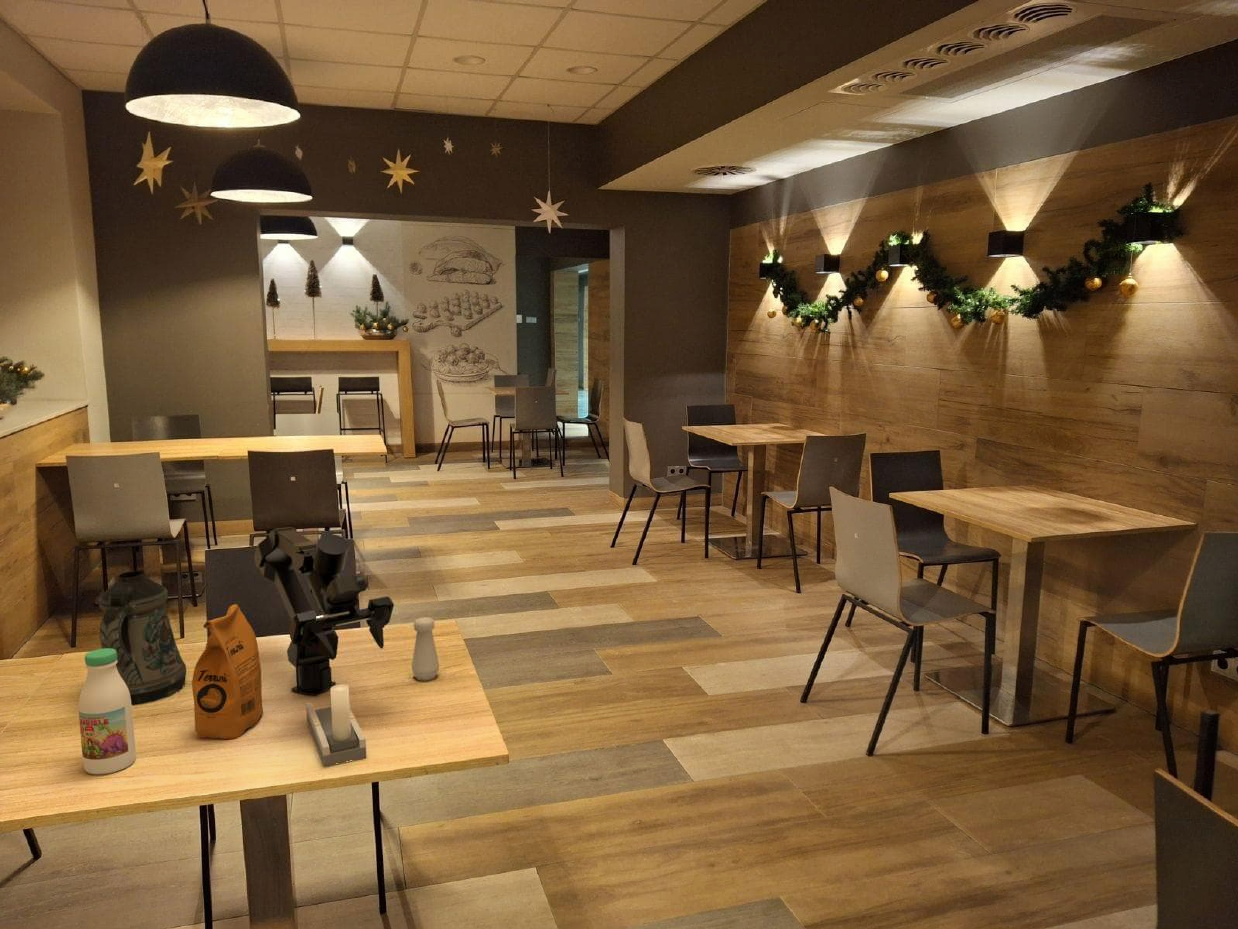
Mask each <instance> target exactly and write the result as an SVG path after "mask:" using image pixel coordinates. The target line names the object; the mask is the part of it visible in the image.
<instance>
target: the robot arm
mask: <svg viewBox="0 0 1238 929" xmlns="http://www.w3.org/2000/svg"><path fill="white" fill-rule="evenodd" d="M349 546H350V544H349V541H348V539H345V538H344V537H343V536H340V535H337V534H334V533H333V532H332V531H323V532H321V533H320V537H319V539H318V540H317V541H315V540H310V539H309V538H307V537H306V536H304V535H303V534H301V532H298V530H297V529H296V527H292V526H289V527H288V526H287V527H280V528H274V529H273V530H270V532H269V534H268V536H266V538H264V539H263V540H262V541H260V542H259V543H258V544H257V546H256V549H255V552H254V564H255V567H256V568H258V569H259V571H260V573H261V575H262V576H263V578H266V579H268V580H270V581H271V582H274V584H275V586H276V589H277V591H278V593H279V596H280V598H281V600H282V602H283V605H284V607H285V609H286V611H287V614H288V616H289V618H290V620H291V621H290V627H289V631H288V633H289V638H290V643H289V645H288V647H287V650H286V654H287V660H288V662H289V663H290V664H291V665H292V666H294V668H295V677H296V678H295V679H296V685H295V686H293V687H291V692H295V693H299V694H304V695H310V696H318V695H319V694H322V693H323V692H325V691H327V690H329V689H331V687H333V686H335V685H337V682H336V681H333V680H332V667H331V664H330V660H332V661H334V660H335V659H336V658H337V655H338V649H339V648H338V645H339V635H338V633H337V632H336V630H335V629H333V627H339V626H344V625H348V624H353V623H358V622H364V621H365V622H366V624H367V626H369V629H368V631H369V632H370V635H371V636H372V637H373V639H374V641H375V643H376V645H377V646H378V647H379V649H384V644H385V641H384V628H385V626H387V625H388V624H389V623H390V621H391V617H392V614H393V611H394V610H393V609H394V607H395V604H394V601H393V600H392V598H391V597H390V596H389V595H387V596H382V597H377V598H376V597H375V598H371V599H368V604H367V608H365V607H364V608H360V609H356V607H355V606H358V604H359V599H358V597H357V596H358V595H359V594H361V593H362V592H365V591H366V590H367V588H369V582H368V579H367V577H366V576H365V574H364V572H358V573H355V574H353V575H348V576H344V577H340V573H342V572H343V571H344V569H345V564H346V560H347V557H348V552H349ZM298 574H299V575H300V576H302V575H308V577H307V583H308V592H309V593H310V594H312V595H313V596H314V598H315V600H316V603H317V608H316V610H317V611H318V613H319V614H317V612H316V610H314V608H313V605H312V604H311V601H310V599H309V598H308V596H307V593H306V591H305V589H304V586H303V584H302V582H301V580H300V578H299V576H298Z"/></svg>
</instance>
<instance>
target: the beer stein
mask: <svg viewBox="0 0 1238 929" xmlns="http://www.w3.org/2000/svg"><path fill="white" fill-rule="evenodd" d="M168 594H169V592H168V589H167V588H166V587H165V586H164V585H162V584H160V583H158V582H157V581H154V580H153V579H151V578H149V577H148V576H146V574H145V573H144V572H143V571H140V570H139V571H137V570H135V571H134V570H133V571H127V572H122V573H120V574H119V575H118V578H117V580H116V581H115V582H114V583H113V584H112V585H110V587H109V588H107V589H106V590H105V591H104V592H103V593H102V594H101V596H100V597H99V599H98V605H99V607H100V610H101V611H102V612H103V617H102V618H101V620H100V623H99V640H100V644H101V647H100V649H105V648H111V649H115V650H116V652H117V661H118V662H117V663H116V667H117V670H118V672H119V674H120V676H121V678H122V679H123V681H124V682H125V684H126V685H127V687H128V690H129V692H130V697H131V704H132V706H136V705H142V704H147V703H153V702H156V701H159V700H160V701H161V700H163V699H165V698H168V697H171V696H173V695H175V694H177V693H178V692H180V691H181V690H182V689H183V688H184V686H185V684H186V676H187V665H186V663H185V661H184V660H183V658H182V656H181V654H180V651H179V649H178V645H177V643H176V639H175V635H174V632H173V629H172V625H171V621H170V618H169V614H168V611H167V607H166V603H167V600H168Z"/></svg>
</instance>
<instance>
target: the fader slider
mask: <svg viewBox="0 0 1238 929" xmlns="http://www.w3.org/2000/svg"><path fill="white" fill-rule="evenodd" d="M329 689H330V705H331V706H330V707H331V711H332V731H333V734H331V735H327V742H328V744H329V749H330V751H331V752H336V751H341V750H345V749H350V748H355V747H358V745H357V738H356V736H355V734H354V731H353V730H351V724H350V709H351V707H350V687H349V684H336V685H334V686H333V687H331V688H329Z"/></svg>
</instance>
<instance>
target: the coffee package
mask: <svg viewBox="0 0 1238 929" xmlns="http://www.w3.org/2000/svg"><path fill="white" fill-rule="evenodd" d="M203 628H204V629H209V632H210V635H209V636H208V637H207V640H206V641H207V642H206V644H205V649H204V651H202V653H201V654H200V656H199V658H198V660H197V662H196V664H195V666H194V669H193V673H192V680H191V688H192V697H193V707H194V709H193V710H194V712H193V713H194V732H195V733H196V734H197V735H198V737H199V738H202V739H205V738H210V739H221V740H228V739H231V740H233V739H238V738H241V736H242V735H243V733H244V732H245V731H246V729H248V728H251V727H254V726H255V725H257V723H258V722H259V719H260V717H262V715H263V714H264V710H263V708H264V707H263V697H262V696H263V695H262V692H263V691H262V687H263V686H262V666H261V659H260V651H259V645H258V641H257V636H256V633H255V632H254V630H253V627H252V626H251V625H250V623H249V622H248V620H247V618H246V617H245V615H244V613H243V612H242V610H241V609H240V607H239V605H238V604H232V605H230V606H228V609H227V612H226V614H225V615H224V616H222V617H221V616H220V617H217V618H214V619H211V620H207V621H205V623H204V624H203Z"/></svg>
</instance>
